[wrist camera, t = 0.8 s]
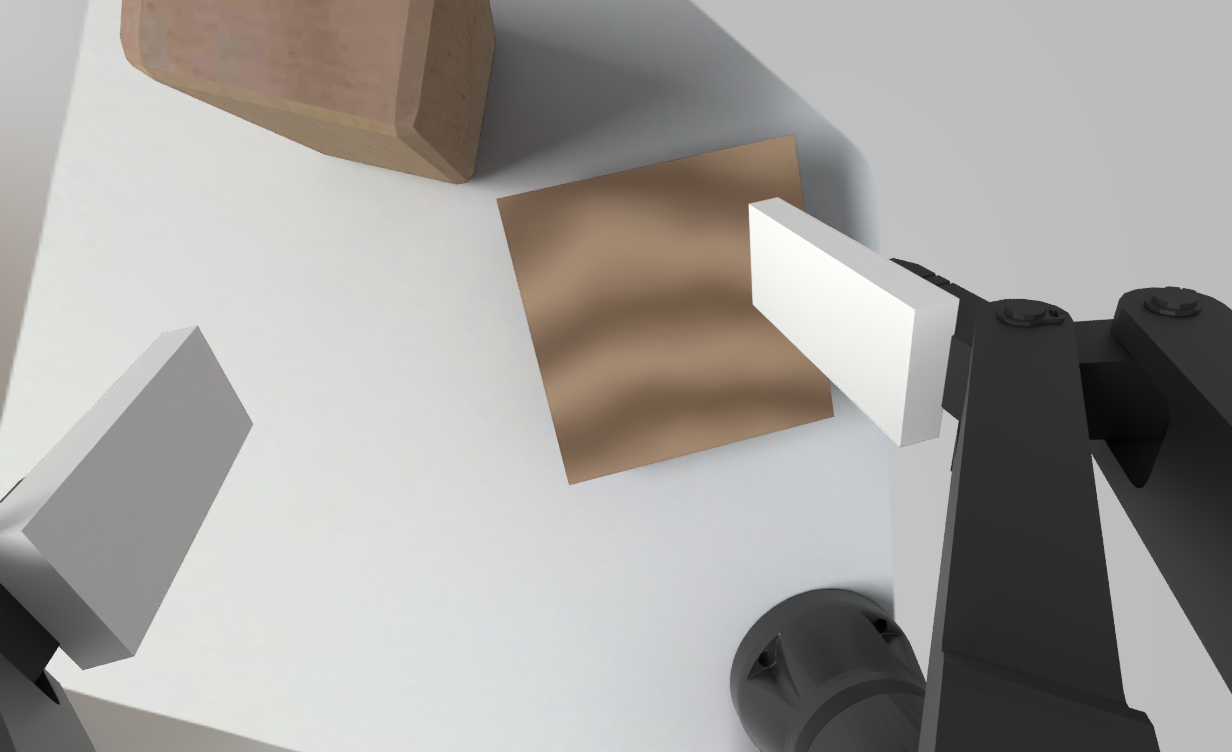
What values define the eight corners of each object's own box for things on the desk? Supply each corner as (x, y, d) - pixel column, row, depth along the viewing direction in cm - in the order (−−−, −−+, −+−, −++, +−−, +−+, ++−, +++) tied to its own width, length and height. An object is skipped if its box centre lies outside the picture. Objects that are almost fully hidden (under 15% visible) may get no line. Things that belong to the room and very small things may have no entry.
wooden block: (499, 28, 39) (468, -183, 20) (473, 189, 41) (421, 139, 22) (333, -17, 38) (123, -296, 18) (313, 153, 39) (102, 64, 20)
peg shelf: (796, 395, 47) (834, 416, 41) (564, 454, 46) (569, 485, 40) (758, 148, 43) (793, 133, 37) (501, 205, 41) (496, 198, 36)
